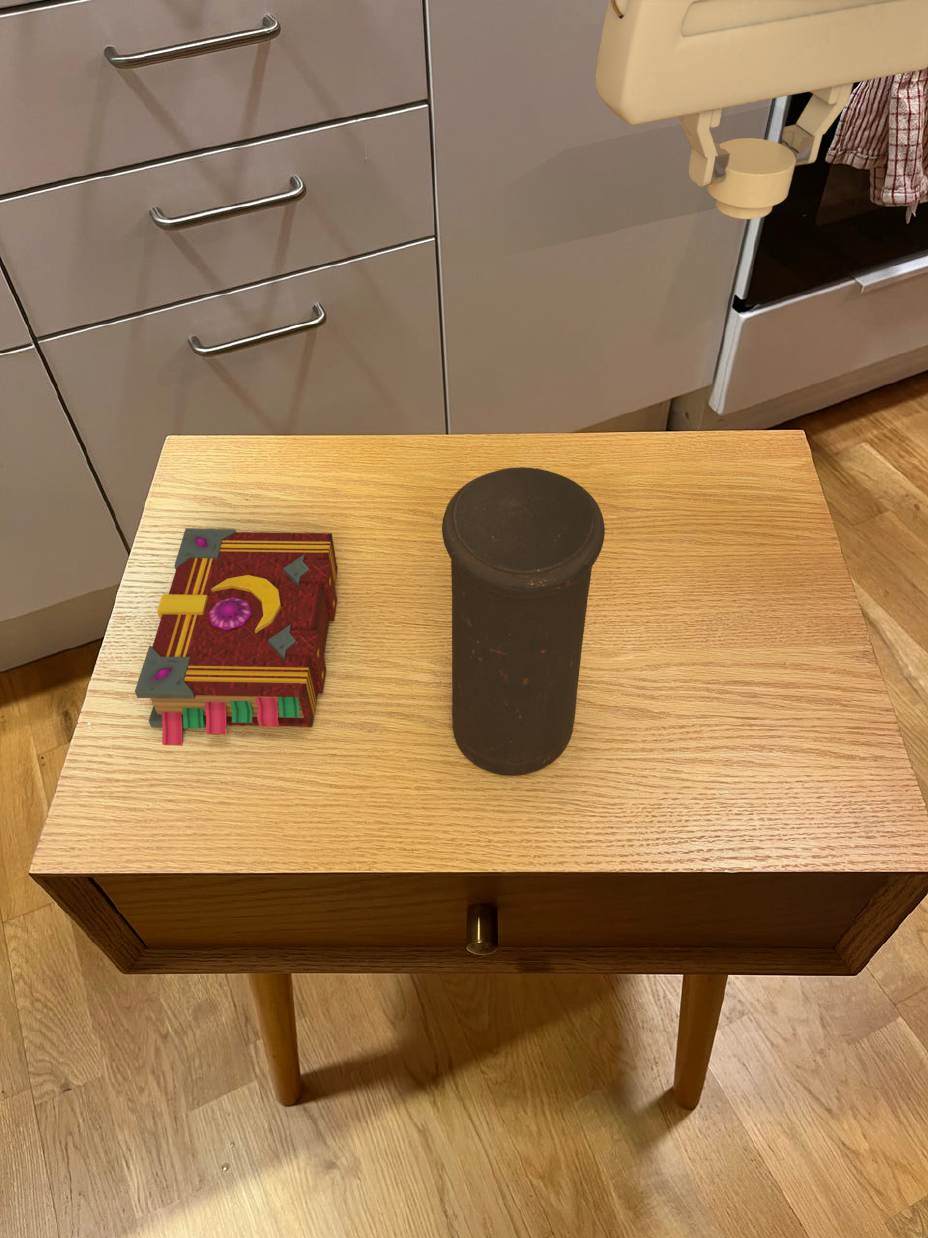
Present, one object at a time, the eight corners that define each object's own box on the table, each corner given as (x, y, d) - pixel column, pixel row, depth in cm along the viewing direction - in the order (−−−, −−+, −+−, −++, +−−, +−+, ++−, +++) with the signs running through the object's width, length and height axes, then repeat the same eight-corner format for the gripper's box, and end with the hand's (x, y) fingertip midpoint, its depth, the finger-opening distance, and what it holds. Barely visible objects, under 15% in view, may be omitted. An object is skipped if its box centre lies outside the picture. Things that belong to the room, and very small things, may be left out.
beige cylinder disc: (798, 201, 58) (810, 151, 56) (760, 233, 56) (771, 182, 54) (728, 179, 61) (737, 130, 58) (688, 209, 58) (696, 159, 56)
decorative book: (342, 571, 75) (334, 524, 71) (314, 747, 64) (304, 704, 60) (197, 569, 75) (182, 523, 71) (146, 744, 65) (125, 701, 61)
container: (596, 697, 66) (630, 478, 51) (548, 802, 61) (570, 593, 46) (482, 656, 69) (482, 436, 54) (427, 754, 64) (409, 540, 48)
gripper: (648, -73, 42) (617, 229, 53) (1027, -128, 46) (928, 161, 57) (586, -108, 46) (568, 180, 56) (942, -156, 50) (863, 120, 61)
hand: (751, 170), depth 57 cm, fingers closed on beige cylinder disc, 5 cm apart
